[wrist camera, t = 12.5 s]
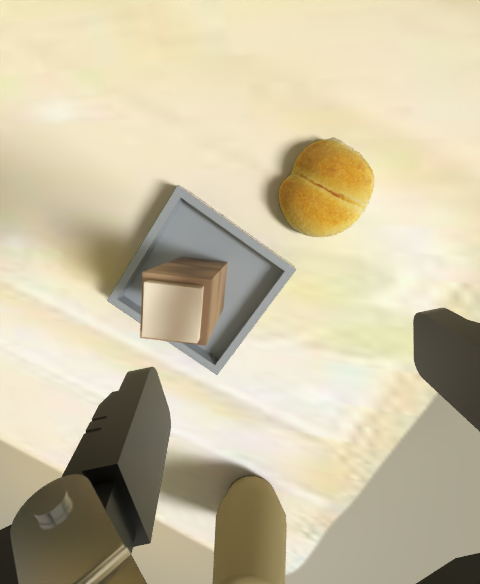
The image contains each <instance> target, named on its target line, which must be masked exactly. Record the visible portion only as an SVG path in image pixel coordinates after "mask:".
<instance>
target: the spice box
mask: <svg viewBox="0 0 480 584" xmlns="http://www.w3.org/2000/svg"><path fill="white" fill-rule="evenodd" d="M227 266H228V262H221V261H212V260H203V259H194V258H184V257H180V258H177V259H175V260H172V261H170V262H167V263H165V264H162V265H159V266H157V267H154V268H152V269H149V270H147V271H144V272H143V273H142V301H141V328H140V338H146V339H155V340H163V341H171V342H179V343H187V344H196V345H204V346H206V344H207V342H208V340H209V338H210V336H211V334H212V332H213V330H214V328H215V325H216V323H217V321H218V319H219V317H220V315H221V313H222V311H223V308H224V298H225V288H226V277H227Z"/></svg>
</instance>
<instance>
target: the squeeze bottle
mask: <svg viewBox="0 0 480 584" xmlns="http://www.w3.org/2000/svg"><path fill="white" fill-rule="evenodd" d="M286 527H287V526H286V514H285V512H284V510H283V508H282V506H281V504H280V501H279V499H278V497H277V495H276V493H275V491H274V489H273V487H272V486H271V484H270V483H268V482H267V481H266V480H264V479H262V478H259V477H256V476H245V477H243V478H240V479H238V480H236V481H235V482H234V483H233V484H232V485H231V487H230V489H229V490H228V492H227V494H226V495H225V497H224V499H223V501H222V502H221V504H220V506H219V509H218V512H217V515H216V527H215V547H214V568H213V584H285V561H286Z"/></svg>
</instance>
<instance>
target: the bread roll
mask: <svg viewBox="0 0 480 584" xmlns="http://www.w3.org/2000/svg"><path fill="white" fill-rule="evenodd" d="M373 187H374V174H373V171H372V169H371V167H370V166H369V164H368V163H367V162H366V160H365V159H364V158H363V156H362V155H361V154H360V153H359V152H357V151H355V150H354V149H353V148H351V147H350V146H348V145H346V144H345V143H344V142H342V141H341V140H338V139H336V138H330V139H327V140H319V141H316V142H314V143H312V144H310V145H309V146H308V147H306V148H305V149H304V150H303V151H302V152H301V153H300V154H299V156H298V157H297V159H296V161H295V164H294V167H293V170H292V172H291V174H290V176H289V177H287V178H286V179H285V180H284V181H283V182H282V184H281V186H280V189H279V203H280V207H281V210H282V212H283V214H284V216H285V218H286V220H287V221H288V223H289V224H290V225H291V226H292V227H293V228H294V229H295V230H297V231H298V232H300V233H302V234H304V235H307V236H312V237H328V236H332V235H336V234H338V233H341V232H343V231H344V230H346V229H347V228H349V227H351V226H352V225H353V224H354V223H355V222H356V221H357V220H358V219H359V218H360V216H361V215H362V213H363V211H364V209H365V207H366V206H367V204H368V202H369V200H370V198H371V195H372V192H373Z"/></svg>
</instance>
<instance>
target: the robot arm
mask: <svg viewBox="0 0 480 584" xmlns="http://www.w3.org/2000/svg"><path fill="white" fill-rule="evenodd" d="M413 324H414V362H415V366H416V368H417V371H418V372H419V374H420V376H421V377H422V378H423V379H424V380H425V381H426V382H427V383H428V384H429V385H430V386H431V387H433V388H434V389H435V390H436V391H437V392H438V393H439V394H440V395H441V396H442V397H443V398H444V399H445V400H447V401H448V402H449V403H450V404H451V405H452V406H453V407H454V408H455V409H456V410H457V411H458V412H459V413H461V414H462V415H463V416H464V417H465V418H466V419H467V420H468V421H469V422H470V423H471V424H472V425H474V427H475V428H477V429H478V430H479V431H480V323H477V322H474V321H470V320H467V319H465V318H463V317H461V316H460V315H458V314H456V313H454V312H452V311H450V310H448V309H446V308H438V309H433V310H428V311H423V312H419V313H417V314H416V315H415V316H414V322H413ZM170 430H171V419H170V412H169V408H168V405H167V402H166V398H165V395H164V392H163V389H162V386H161V383H160V380H159V376H158V373H157V371H156V369H155V368H154V367H149V368H144V369H139V370H135V371H130V372H128V373H127V374H126V376H125V378H124V380H123V383H122V385H121V387H120V389H119V391H115V392H112V393H111V394H110V395H109V396H108V397H107V398H106V399H105V400H104V401H103V402H102V403H101V404H100V405H99V406H98V408H97V410H96V412H95V414H94V416H93V418H92V422H90V423H89V425H88V427H87V429H86V434H84V435H83V437H82V439H81V441H80V443H79V445H78V447H77V448H76V450H75V452H74V454H73V456H72V458H71V460H70V462H69V464H68V466H67V468H66V470H65V471H64V473H63V475H62V477H61V478H58V479H56V480H54V481H52V482H50V483H48V484H47V485H45V486H44V487H42V488H41V489H39V490H38V491H37V492H36V493H35V494H33V495H32V496H31V497H30V498H29V499H28V500H27V501H26V502H25V503H24V505H23V506H22V507H21V508H20V510H19V511H18V513H17V514H16V516H15V518H14V520H13V523H12V525H10V526H8V527H5V528H3V529H1V530H0V584H147V583H146V581H145V579H144V577H143V575H142V574H141V572H140V570H139V568H138V566H137V564H136V563H135V561H134V559H133V557H132V555H131V553H132V549H133V547H135V546H139V545H144V544H149V543H150V542H151V537H152V531H153V525H154V520H155V514H156V509H157V503H158V497H159V492H160V486H161V481H162V475H163V469H164V464H165V458H166V453H167V447H168V441H169V436H170ZM416 584H480V553H478V554H473V555H468V556H464V557H460V558H455V559H454V560H452V561H451V562H449V563H447V564H446V565H444V566H443V567H441V568H440V569H438V570H437V571H435V572H433V573H432V574H431V575H429V576H427V577H426V578H424V579H423V580H421V581H420V582H418V583H416Z"/></svg>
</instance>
